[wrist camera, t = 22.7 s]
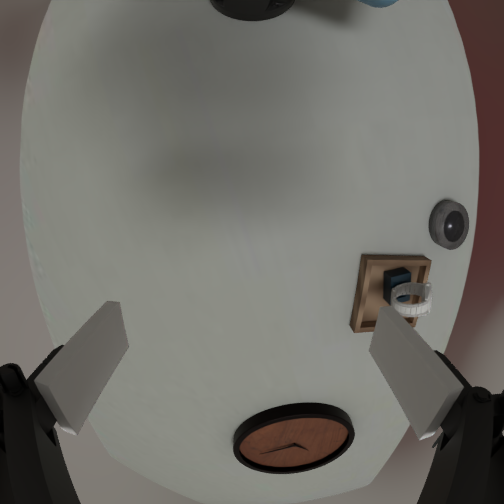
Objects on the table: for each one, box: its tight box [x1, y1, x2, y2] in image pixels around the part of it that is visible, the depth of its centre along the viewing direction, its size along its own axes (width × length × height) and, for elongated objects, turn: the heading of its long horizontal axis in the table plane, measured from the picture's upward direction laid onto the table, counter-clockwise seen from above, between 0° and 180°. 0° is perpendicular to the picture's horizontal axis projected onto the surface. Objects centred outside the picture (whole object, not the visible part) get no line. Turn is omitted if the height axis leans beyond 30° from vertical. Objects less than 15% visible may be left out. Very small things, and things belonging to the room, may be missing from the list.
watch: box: [383, 267, 432, 317], centre depth 41 cm, size 6×8×11 cm
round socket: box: [429, 200, 469, 250], centre depth 42 cm, size 9×9×3 cm
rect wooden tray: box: [350, 255, 432, 333], centre depth 46 cm, size 14×14×3 cm
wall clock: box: [233, 403, 355, 474], centre depth 57 cm, size 31×4×31 cm
